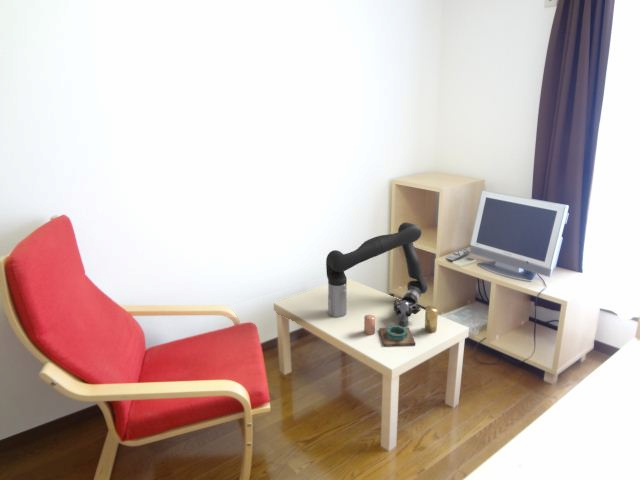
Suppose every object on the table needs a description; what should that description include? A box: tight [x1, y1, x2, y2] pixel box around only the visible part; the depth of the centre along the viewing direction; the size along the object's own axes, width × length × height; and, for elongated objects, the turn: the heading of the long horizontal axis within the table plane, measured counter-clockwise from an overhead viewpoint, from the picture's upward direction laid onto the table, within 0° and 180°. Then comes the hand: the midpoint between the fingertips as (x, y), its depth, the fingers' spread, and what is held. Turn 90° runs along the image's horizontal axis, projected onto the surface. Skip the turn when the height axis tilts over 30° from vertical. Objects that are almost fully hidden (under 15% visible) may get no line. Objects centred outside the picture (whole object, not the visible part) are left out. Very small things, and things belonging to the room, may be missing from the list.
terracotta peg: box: [363, 314, 376, 336], centre depth 210 cm, size 5×5×8 cm
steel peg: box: [398, 299, 409, 327], centre depth 216 cm, size 4×4×12 cm
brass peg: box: [423, 305, 439, 334], centre depth 211 cm, size 6×6×11 cm
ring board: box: [378, 325, 416, 347], centre depth 206 cm, size 14×14×4 cm
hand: (402, 314), depth 213 cm, fingers closed on steel peg, 4 cm apart
